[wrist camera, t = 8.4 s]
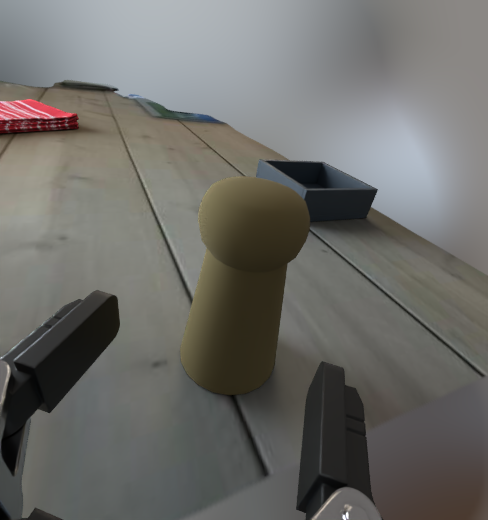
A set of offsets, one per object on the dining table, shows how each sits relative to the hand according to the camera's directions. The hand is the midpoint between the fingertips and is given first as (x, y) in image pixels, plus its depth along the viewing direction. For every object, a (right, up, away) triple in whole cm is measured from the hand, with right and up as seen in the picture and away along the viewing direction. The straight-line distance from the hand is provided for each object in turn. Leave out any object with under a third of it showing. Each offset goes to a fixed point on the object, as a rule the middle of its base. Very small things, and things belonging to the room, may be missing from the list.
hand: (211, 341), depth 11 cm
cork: (0, -3, +8) cm, 8 cm away
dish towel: (-44, +28, +42) cm, 67 cm away
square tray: (+11, +12, +34) cm, 37 cm away
